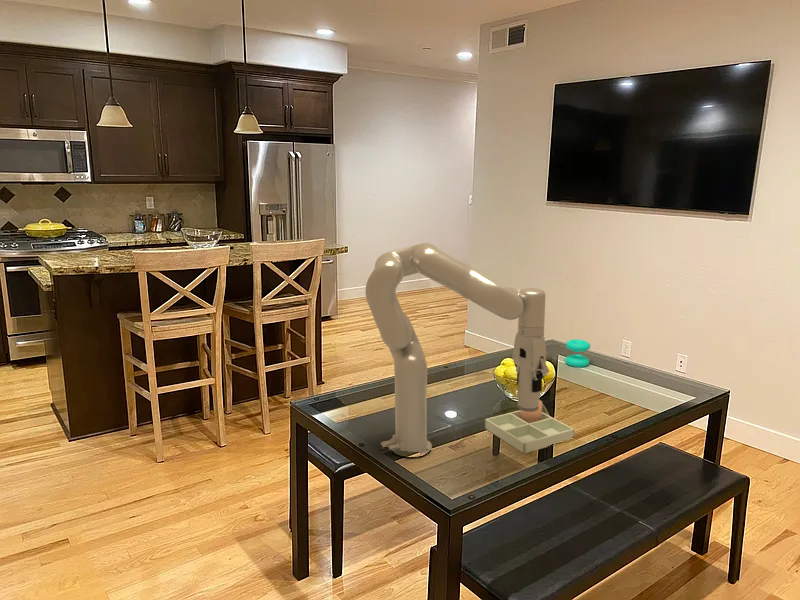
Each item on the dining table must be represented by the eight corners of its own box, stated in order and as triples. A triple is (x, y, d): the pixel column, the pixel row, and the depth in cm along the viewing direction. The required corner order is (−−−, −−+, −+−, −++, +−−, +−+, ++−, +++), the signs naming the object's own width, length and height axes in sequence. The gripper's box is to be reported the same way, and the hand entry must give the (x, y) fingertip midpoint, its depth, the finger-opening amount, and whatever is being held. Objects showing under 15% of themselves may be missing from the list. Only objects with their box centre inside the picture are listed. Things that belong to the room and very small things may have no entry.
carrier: (524, 456, 176) (524, 443, 175) (484, 430, 193) (485, 419, 192) (574, 441, 185) (574, 429, 184) (532, 417, 202) (532, 407, 201)
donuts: (581, 346, 246) (561, 341, 253) (579, 369, 248) (560, 363, 256) (595, 342, 252) (575, 337, 259) (593, 364, 254) (574, 358, 262)
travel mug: (541, 405, 181) (544, 343, 176) (534, 413, 175) (537, 349, 171) (521, 402, 184) (523, 340, 179) (514, 409, 178) (516, 346, 174)
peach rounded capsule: (529, 430, 190) (529, 407, 188) (515, 422, 196) (516, 400, 194) (545, 426, 193) (546, 403, 192) (531, 418, 199) (532, 396, 198)
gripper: (502, 325, 180) (501, 381, 184) (540, 339, 165) (538, 399, 169) (522, 322, 183) (520, 376, 187) (561, 335, 168) (558, 394, 172)
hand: (529, 387), depth 178 cm, fingers closed on travel mug, 6 cm apart
